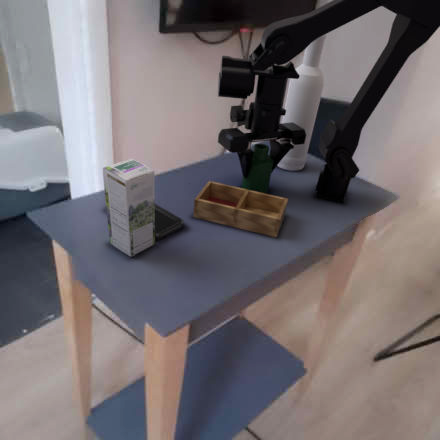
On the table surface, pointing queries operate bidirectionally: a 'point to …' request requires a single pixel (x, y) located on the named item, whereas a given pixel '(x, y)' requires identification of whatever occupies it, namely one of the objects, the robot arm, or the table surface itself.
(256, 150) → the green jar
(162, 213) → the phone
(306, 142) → the bottle
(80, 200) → the table surface
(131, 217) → the syrup box
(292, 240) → the table surface
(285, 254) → the table surface
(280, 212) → the wooden divided tray
